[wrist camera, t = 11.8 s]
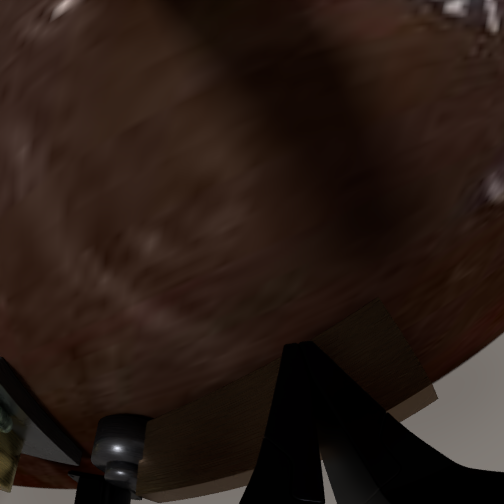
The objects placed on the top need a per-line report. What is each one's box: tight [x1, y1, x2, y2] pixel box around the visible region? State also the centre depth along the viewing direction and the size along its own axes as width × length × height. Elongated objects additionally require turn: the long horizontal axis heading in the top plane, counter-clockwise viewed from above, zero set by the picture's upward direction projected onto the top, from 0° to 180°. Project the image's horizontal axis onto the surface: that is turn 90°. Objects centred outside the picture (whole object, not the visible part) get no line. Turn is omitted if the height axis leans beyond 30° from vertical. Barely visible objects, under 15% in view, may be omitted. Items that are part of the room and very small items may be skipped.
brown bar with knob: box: [91, 297, 438, 503], centre depth 13 cm, size 20×5×5 cm, turn 127°
